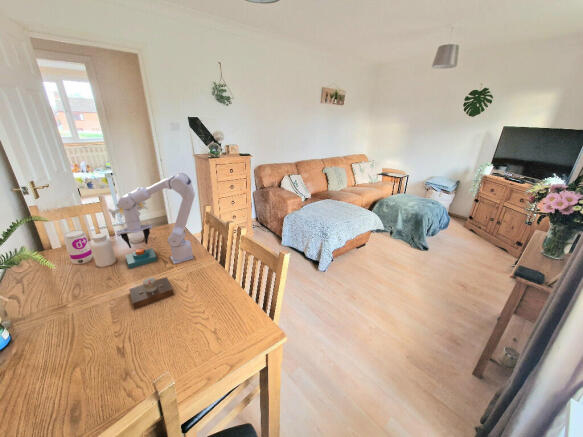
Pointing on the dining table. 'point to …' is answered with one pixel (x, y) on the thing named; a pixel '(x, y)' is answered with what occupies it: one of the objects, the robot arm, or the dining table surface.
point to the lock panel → (151, 293)
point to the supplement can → (78, 246)
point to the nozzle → (139, 251)
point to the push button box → (141, 258)
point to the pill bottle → (102, 250)
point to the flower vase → (132, 236)
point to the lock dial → (150, 284)
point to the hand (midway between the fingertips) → (138, 245)
